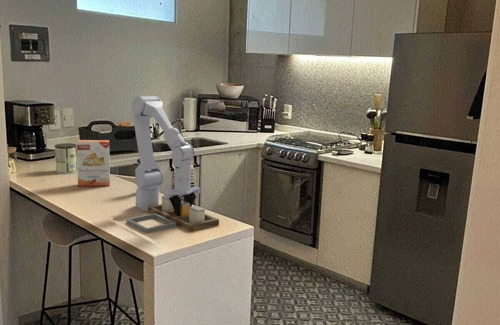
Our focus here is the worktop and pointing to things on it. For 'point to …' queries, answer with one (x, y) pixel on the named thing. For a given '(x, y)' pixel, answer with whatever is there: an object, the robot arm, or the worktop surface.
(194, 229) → the holder
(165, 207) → the block
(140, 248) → the worktop surface
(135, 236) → the worktop surface
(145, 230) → the tray
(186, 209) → the grey and orange block
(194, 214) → the block
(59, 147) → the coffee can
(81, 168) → the cracker box
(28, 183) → the worktop surface
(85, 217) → the worktop surface
